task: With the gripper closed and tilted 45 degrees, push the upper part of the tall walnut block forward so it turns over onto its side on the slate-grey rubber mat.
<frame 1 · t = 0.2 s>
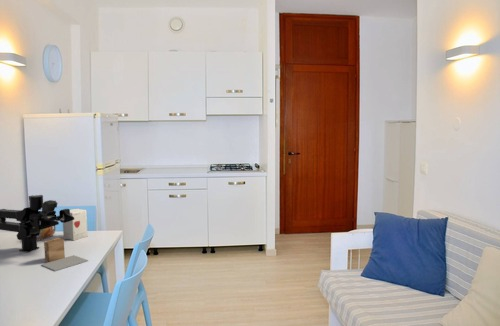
hand: (66, 220, 185), 17 cm above the table, tool horizontal, fingers open, 9 cm apart
walnut block: (55, 259, 181), on the table
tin: (44, 238, 216), on the table
supplement box: (75, 237, 216), on the table
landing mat: (65, 263, 176), on the table
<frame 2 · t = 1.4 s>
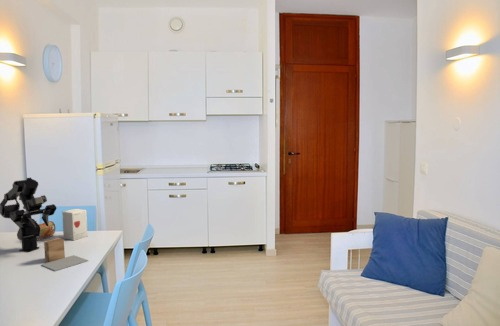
hand: (41, 227, 186), 14 cm above the table, tool tilted 45°, fingers open, 5 cm apart
nothing on the table moved.
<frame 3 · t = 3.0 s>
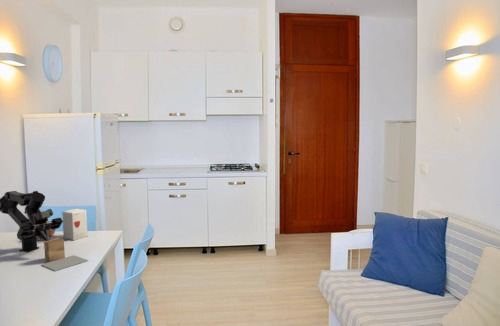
hand: (48, 241, 184), 8 cm above the table, tool tilted 45°, fingers closed
nothing on the table moved.
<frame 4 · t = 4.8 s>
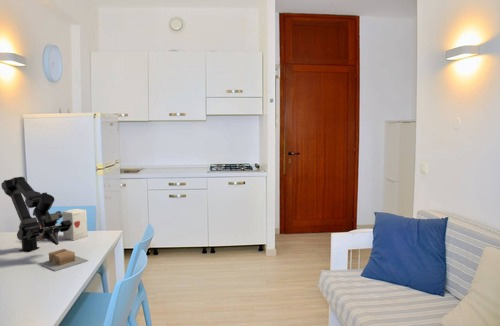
hand: (57, 244, 179), 8 cm above the table, tool tilted 45°, fingers closed
walnut block: (56, 255, 180), point 2 cm above the table, tilted 90°, touching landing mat
everything else where it was.
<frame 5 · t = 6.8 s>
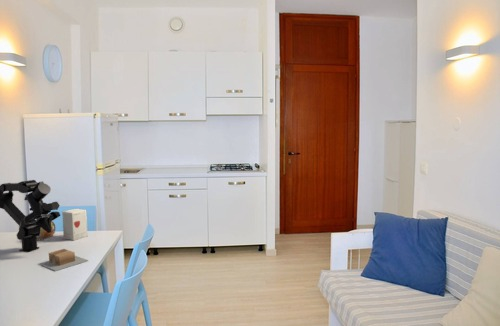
hand: (50, 232, 187), 11 cm above the table, tool tilted 35°, fingers closed
nothing on the table moved.
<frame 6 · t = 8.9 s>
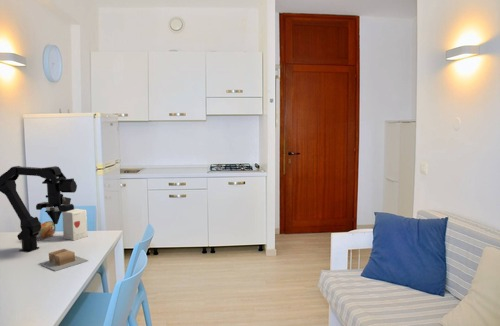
hand: (56, 224, 194), 13 cm above the table, tool pointing down, fingers closed
nothing on the table moved.
at the end: walnut block tilted 90°; walnut block touching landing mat; walnut block inside the target area (1.9 cm from its centre), point 2.4 cm above the table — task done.
